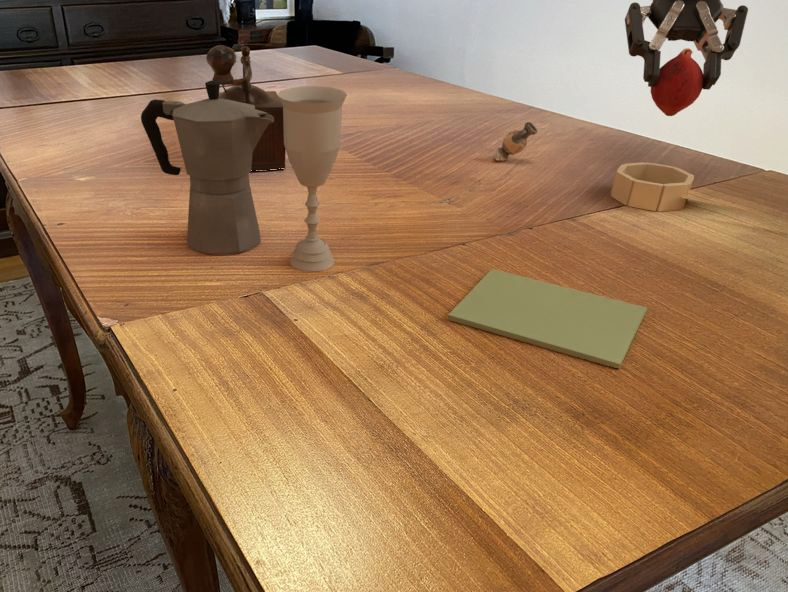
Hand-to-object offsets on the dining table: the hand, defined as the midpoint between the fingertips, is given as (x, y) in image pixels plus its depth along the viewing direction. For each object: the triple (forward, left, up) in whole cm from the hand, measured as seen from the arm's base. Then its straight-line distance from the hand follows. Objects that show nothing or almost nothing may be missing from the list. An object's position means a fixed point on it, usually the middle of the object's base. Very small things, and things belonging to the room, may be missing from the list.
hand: (681, 83), depth 86 cm
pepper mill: (+55, +16, -16) cm, 59 cm away
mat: (+3, +37, -16) cm, 40 cm away
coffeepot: (+42, +40, -16) cm, 60 cm away
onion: (+1, -2, -4) cm, 5 cm away
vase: (+22, -9, -16) cm, 28 cm away
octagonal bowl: (+1, -3, -16) cm, 16 cm away
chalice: (+29, +39, -16) cm, 51 cm away
